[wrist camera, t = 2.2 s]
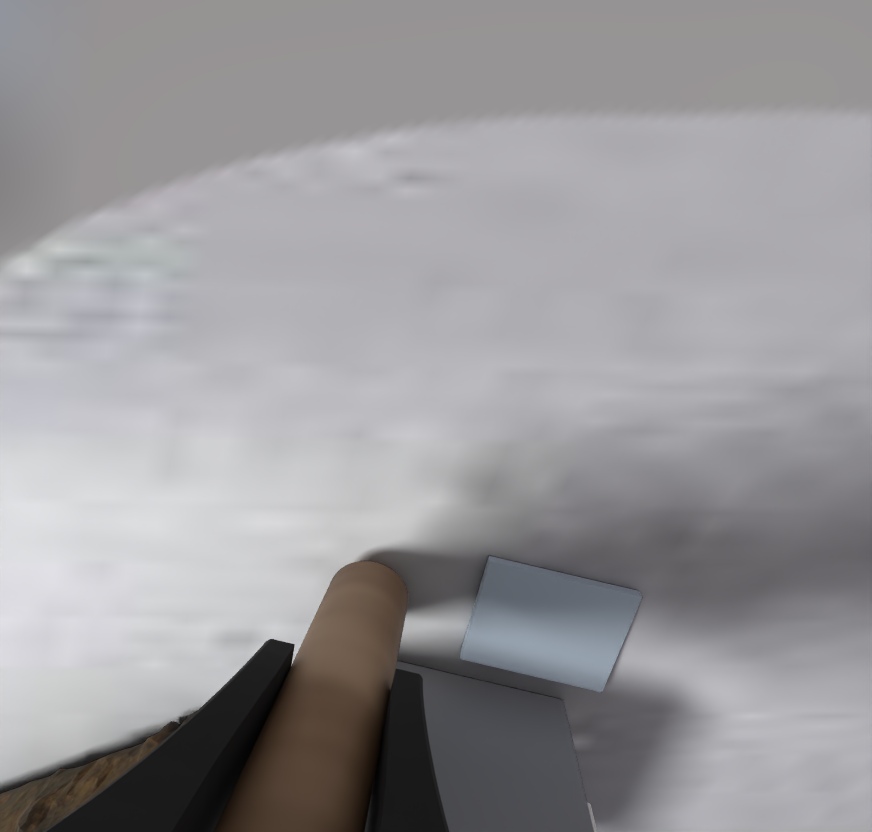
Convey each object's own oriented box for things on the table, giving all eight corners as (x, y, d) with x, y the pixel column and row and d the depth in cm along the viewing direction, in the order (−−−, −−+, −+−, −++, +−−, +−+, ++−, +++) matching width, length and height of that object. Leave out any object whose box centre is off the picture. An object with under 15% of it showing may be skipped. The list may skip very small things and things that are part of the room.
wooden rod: (399, 636, 15) (302, 1136, 6) (323, 619, 15) (117, 1090, 6) (415, 571, 14) (332, 1030, 5) (335, 553, 14) (120, 979, 5)
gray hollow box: (514, 832, 18) (532, 1035, 13) (317, 785, 18) (260, 970, 13) (567, 700, 16) (611, 882, 11) (344, 648, 16) (290, 806, 11)
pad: (599, 685, 15) (601, 692, 15) (460, 652, 15) (460, 659, 15) (639, 591, 14) (642, 597, 14) (488, 555, 14) (489, 561, 14)
